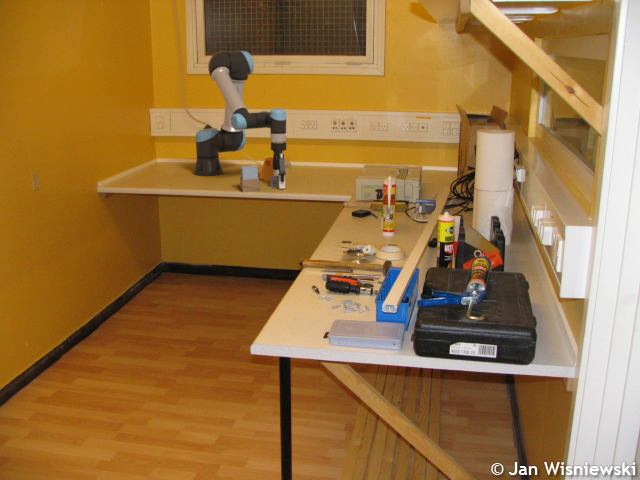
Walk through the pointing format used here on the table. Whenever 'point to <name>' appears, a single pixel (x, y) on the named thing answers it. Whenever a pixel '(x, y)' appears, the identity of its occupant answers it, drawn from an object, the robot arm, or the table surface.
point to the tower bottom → (249, 185)
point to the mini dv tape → (425, 206)
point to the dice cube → (274, 181)
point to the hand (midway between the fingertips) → (279, 185)
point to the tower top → (249, 172)
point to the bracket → (267, 169)
